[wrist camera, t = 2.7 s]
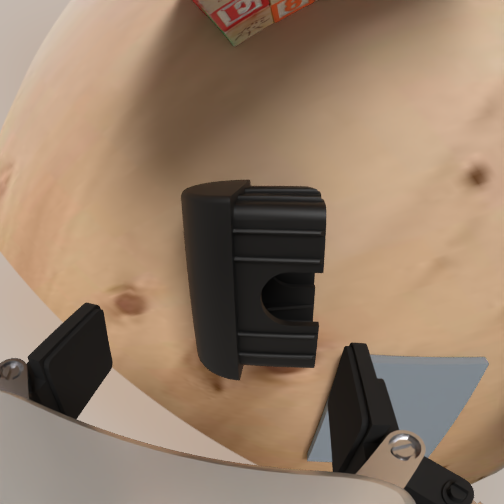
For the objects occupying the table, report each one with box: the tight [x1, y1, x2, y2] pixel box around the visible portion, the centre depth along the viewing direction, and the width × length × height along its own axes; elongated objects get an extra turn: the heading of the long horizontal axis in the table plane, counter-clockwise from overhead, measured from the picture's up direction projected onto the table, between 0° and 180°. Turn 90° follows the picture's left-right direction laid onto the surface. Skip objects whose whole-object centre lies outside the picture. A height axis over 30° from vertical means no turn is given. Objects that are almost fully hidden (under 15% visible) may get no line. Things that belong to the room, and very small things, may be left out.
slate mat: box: [307, 355, 489, 462], centre depth 24 cm, size 14×14×1 cm
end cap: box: [181, 180, 326, 380], centre depth 18 cm, size 10×7×7 cm
